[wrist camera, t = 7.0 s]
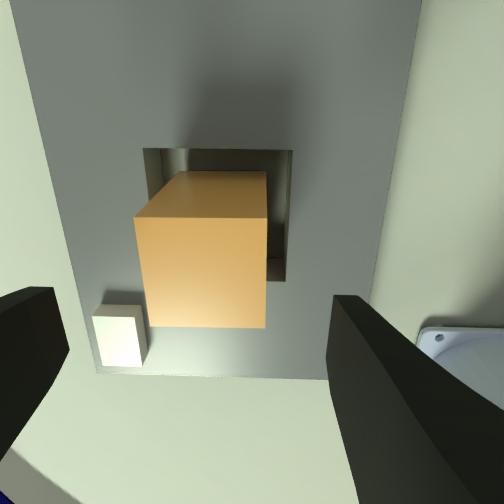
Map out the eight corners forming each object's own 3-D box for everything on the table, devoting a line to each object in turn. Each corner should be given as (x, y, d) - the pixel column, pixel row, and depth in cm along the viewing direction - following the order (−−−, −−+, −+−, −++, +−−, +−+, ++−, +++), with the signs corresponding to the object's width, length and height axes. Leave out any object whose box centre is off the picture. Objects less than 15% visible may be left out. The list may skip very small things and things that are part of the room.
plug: (265, 168, 17) (267, 218, 10) (264, 245, 18) (265, 328, 12) (182, 168, 17) (133, 217, 11) (188, 244, 19) (149, 326, 12)
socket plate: (401, -21, 14) (443, -53, 10) (345, 349, 21) (359, 395, 18) (42, -21, 14) (-23, -53, 11) (114, 342, 22) (88, 387, 18)
